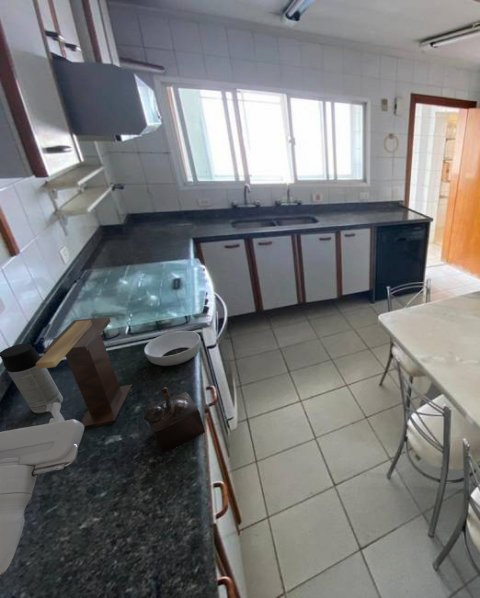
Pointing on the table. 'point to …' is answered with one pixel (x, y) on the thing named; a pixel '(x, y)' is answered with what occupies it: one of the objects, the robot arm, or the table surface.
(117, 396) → the walnut stand
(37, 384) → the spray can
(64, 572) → the table surface
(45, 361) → the wooden plank
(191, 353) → the cereal bowl
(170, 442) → the dark brown boxy piece
